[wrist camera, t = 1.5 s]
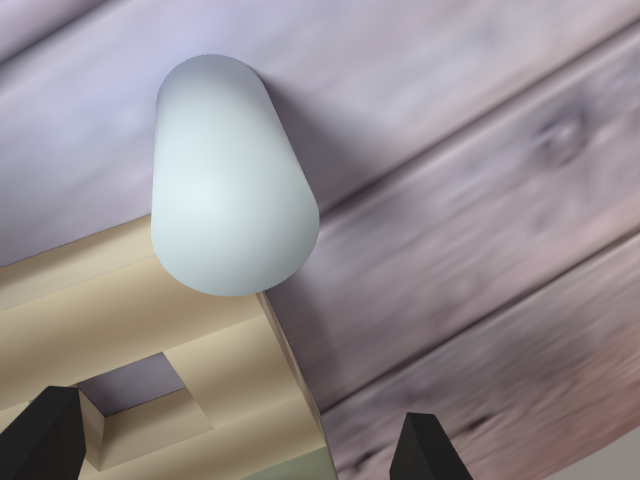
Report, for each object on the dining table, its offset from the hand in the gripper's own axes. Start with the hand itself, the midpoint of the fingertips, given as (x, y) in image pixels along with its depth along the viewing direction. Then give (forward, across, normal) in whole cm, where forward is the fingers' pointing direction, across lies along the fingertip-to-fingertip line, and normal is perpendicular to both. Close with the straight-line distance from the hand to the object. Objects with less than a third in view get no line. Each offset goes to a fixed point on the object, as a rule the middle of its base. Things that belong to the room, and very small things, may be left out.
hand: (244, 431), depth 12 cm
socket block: (+11, +6, +9) cm, 15 cm away
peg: (+11, +2, -4) cm, 12 cm away
